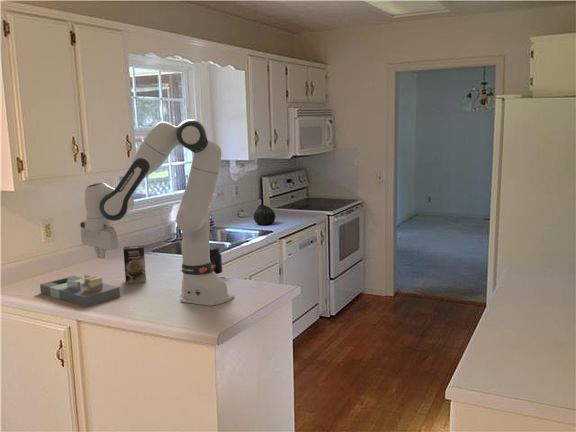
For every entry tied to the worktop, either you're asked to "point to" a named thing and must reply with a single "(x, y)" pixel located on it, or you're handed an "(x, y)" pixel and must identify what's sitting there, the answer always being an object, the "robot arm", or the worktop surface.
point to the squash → (264, 215)
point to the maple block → (93, 283)
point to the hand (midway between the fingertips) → (101, 258)
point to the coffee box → (134, 264)
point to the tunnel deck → (78, 291)
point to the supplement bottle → (216, 259)
